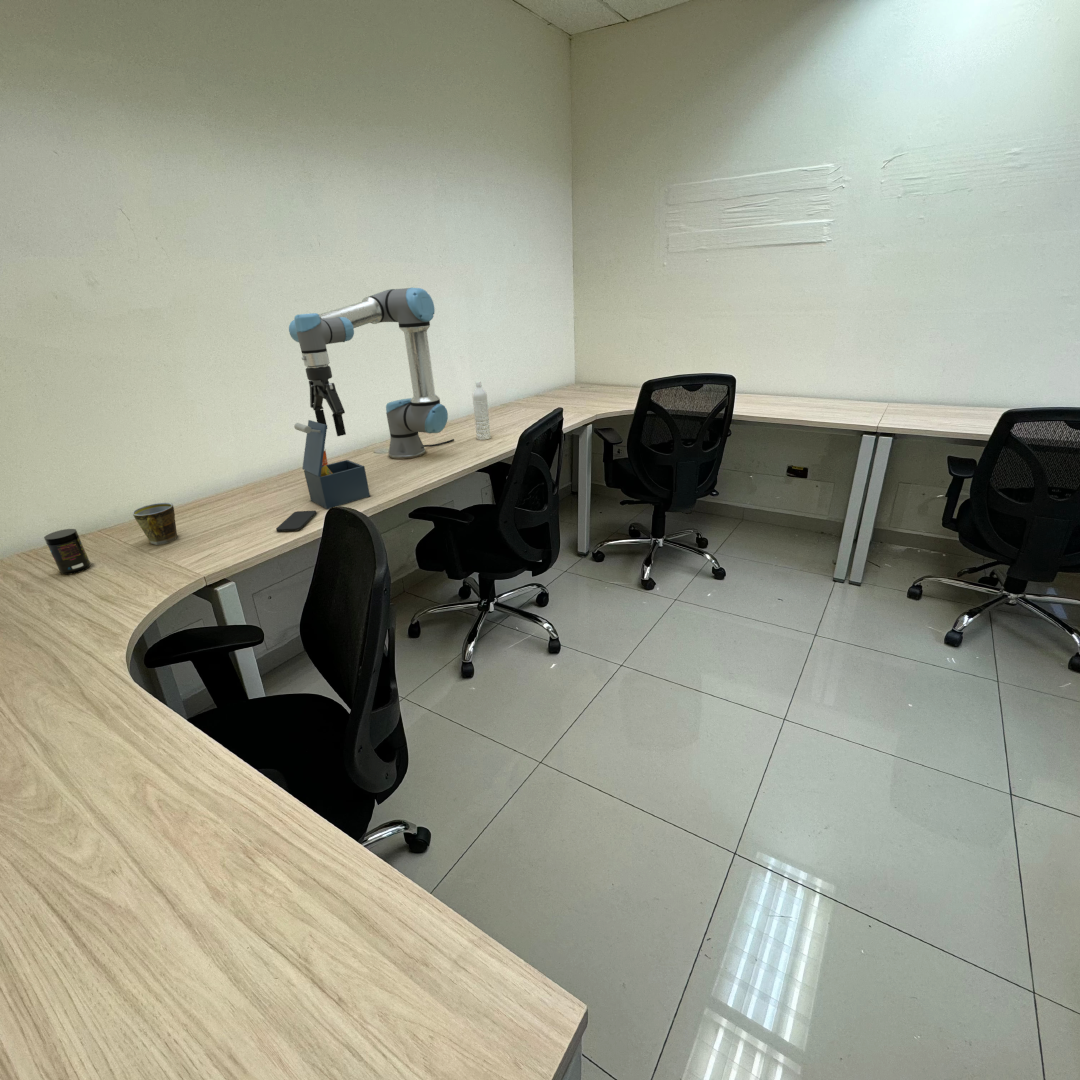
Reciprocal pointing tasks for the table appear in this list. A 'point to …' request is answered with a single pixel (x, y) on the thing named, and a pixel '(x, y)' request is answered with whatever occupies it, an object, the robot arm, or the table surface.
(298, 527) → the phone
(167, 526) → the ceramic cup
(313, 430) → the lid
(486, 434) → the water bottle
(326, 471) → the crayon box
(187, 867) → the table surface
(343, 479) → the chest
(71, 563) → the supplement container
